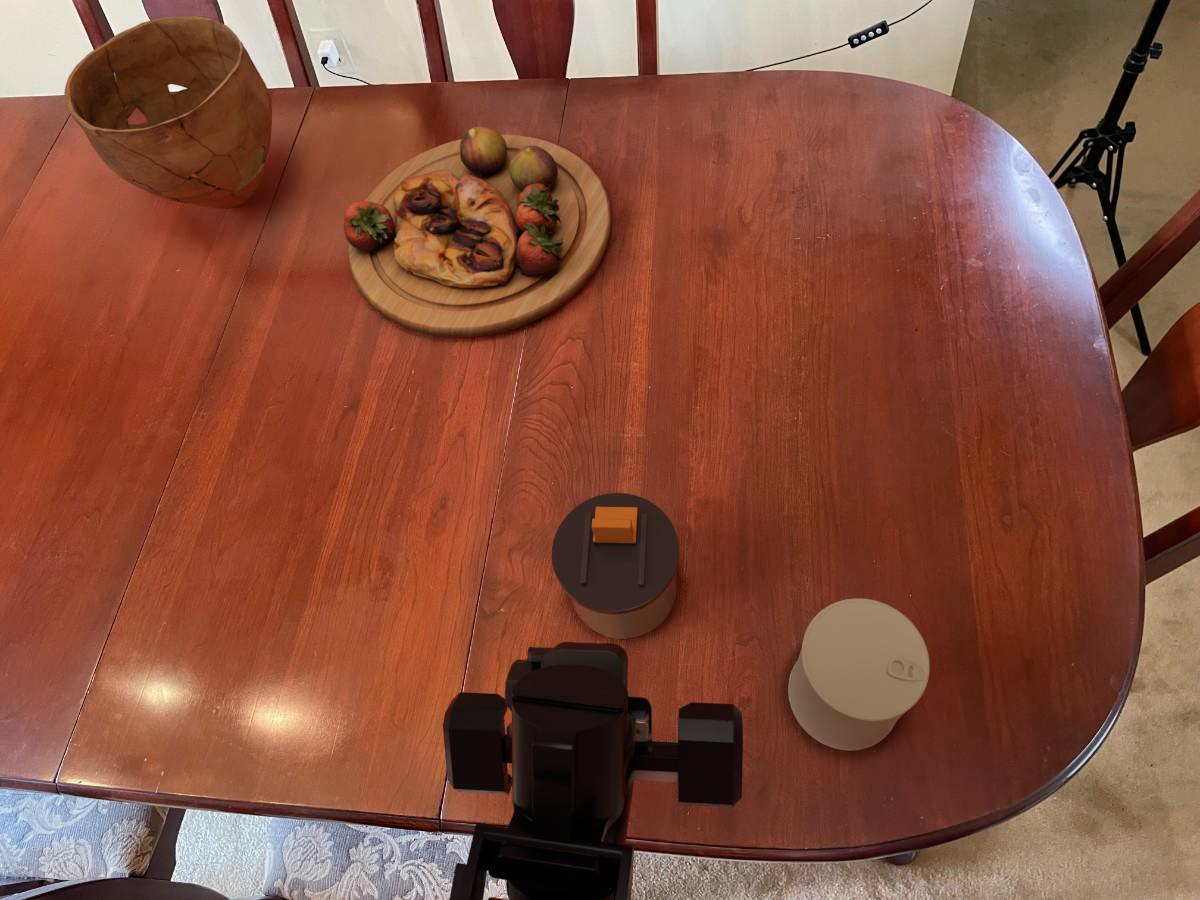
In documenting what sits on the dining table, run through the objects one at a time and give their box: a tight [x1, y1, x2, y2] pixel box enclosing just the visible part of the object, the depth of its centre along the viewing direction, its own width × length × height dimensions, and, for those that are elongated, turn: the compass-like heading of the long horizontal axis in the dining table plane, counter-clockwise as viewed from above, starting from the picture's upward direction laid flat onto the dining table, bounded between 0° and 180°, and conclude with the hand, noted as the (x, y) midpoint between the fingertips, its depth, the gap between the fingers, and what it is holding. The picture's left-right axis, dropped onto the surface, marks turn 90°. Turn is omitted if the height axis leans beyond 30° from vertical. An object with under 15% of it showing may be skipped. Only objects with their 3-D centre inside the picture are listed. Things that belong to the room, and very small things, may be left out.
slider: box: [592, 507, 638, 543], centre depth 71 cm, size 3×4×3 cm
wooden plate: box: [343, 125, 613, 339], centre depth 99 cm, size 32×32×8 cm
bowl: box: [63, 15, 273, 210], centre depth 102 cm, size 21×20×20 cm
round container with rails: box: [551, 492, 680, 640], centre depth 75 cm, size 11×11×9 cm
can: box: [787, 597, 931, 752], centre depth 67 cm, size 9×9×12 cm
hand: (607, 680), depth 62 cm, fingers closed
